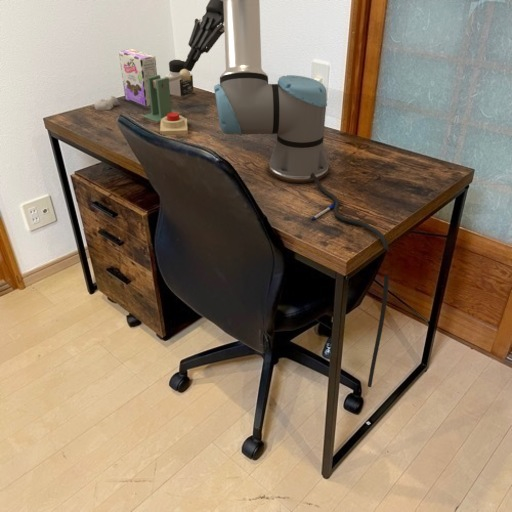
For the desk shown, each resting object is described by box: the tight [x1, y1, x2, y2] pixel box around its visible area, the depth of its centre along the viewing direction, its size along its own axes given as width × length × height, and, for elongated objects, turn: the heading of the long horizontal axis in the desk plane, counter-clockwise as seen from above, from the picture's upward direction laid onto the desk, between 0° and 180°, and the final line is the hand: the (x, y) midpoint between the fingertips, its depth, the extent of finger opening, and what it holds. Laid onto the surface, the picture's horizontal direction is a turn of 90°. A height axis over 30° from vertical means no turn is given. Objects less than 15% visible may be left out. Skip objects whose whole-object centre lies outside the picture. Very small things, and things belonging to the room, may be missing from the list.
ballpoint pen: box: [311, 201, 341, 221], centre depth 119 cm, size 10×1×1 cm, turn 140°
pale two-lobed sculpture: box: [93, 95, 119, 112], centre depth 175 cm, size 4×8×5 cm
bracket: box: [141, 74, 182, 123], centre depth 166 cm, size 10×8×13 cm
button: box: [167, 112, 180, 121], centre depth 158 cm, size 4×4×2 cm
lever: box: [152, 69, 191, 89], centre depth 167 cm, size 14×4×4 cm, turn 138°
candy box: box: [118, 48, 158, 107], centre depth 178 cm, size 14×6×16 cm, turn 42°
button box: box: [159, 115, 189, 136], centre depth 159 cm, size 10×8×4 cm
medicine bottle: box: [164, 58, 194, 98], centre depth 187 cm, size 7×7×12 cm
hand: (187, 68), depth 170 cm, fingers closed
